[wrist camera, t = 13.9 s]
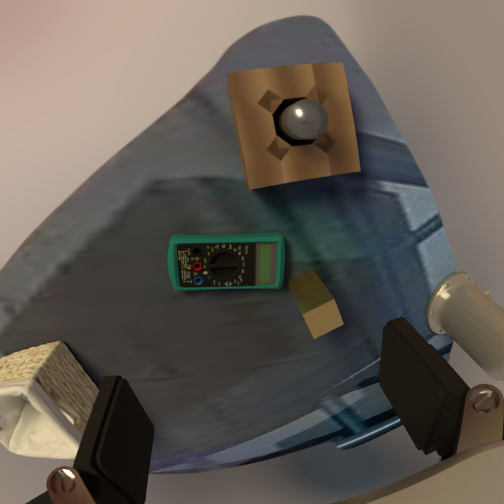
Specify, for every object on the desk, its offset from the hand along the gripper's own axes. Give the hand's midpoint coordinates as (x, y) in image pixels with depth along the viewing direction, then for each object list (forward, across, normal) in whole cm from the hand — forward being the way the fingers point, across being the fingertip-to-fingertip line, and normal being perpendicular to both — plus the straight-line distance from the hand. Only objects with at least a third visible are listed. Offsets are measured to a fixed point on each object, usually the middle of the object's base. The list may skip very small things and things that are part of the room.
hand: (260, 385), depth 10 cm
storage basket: (+31, +41, +23) cm, 56 cm away
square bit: (+30, -8, +13) cm, 34 cm away
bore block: (+30, -9, -9) cm, 33 cm away
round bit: (+30, -9, -9) cm, 33 cm away
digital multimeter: (+31, +2, +7) cm, 32 cm away
